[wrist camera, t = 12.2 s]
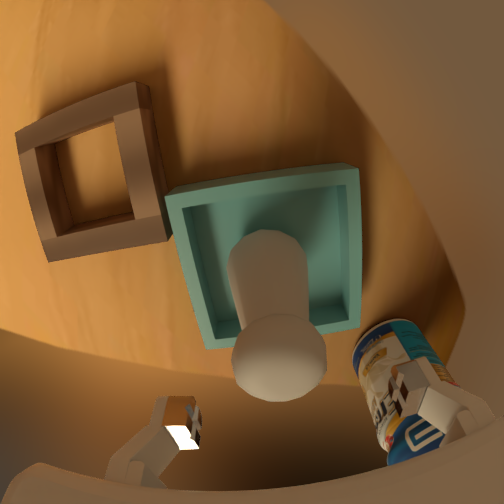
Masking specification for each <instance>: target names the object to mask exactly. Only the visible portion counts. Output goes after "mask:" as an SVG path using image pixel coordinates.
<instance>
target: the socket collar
mask: <svg viewBox="0 0 504 504" xmlns="http://www.w3.org/2000/svg"><path fill="white" fill-rule="evenodd" d="M111 122H114V123H115V129H116V135H117V140H118V145H119V150H120V155H121V160H122V165H123V170H124V174H125V179H126V183H127V187H128V192H129V196H130V200H131V204H132V208H133V212H130V213H125V214H120V215H116V216H111V217H107V218H102V219H98V220H94V221H90V222H85V223H81V224H77V225H74V223H73V220H72V216H71V213H70V209H69V206H68V202H67V198H66V194H65V190H64V186H63V182H62V178H61V173H60V169H59V164H58V159H57V155H56V149H55V143H58V142H60V141H62V140H65V139H67V138H70V137H72V136H75V135H78V134H80V133H83V132H86V131H88V130H91V129H94V128H97V127H100V126H102V125H105V124H108V123H111ZM15 137H16V143H17V149H18V155H19V160H20V165H21V170H22V175H23V179H24V183H25V188H26V192H27V196H28V200H29V203H30V207H31V211H32V214H33V218H34V221H35V224H36V228H37V231H38V234H39V237H40V240H41V243H42V246H43V249H44V252H45V255H46V257H47V260H48V262H53V261H59V260H64V259H69V258H75V257H80V256H86V255H91V254H97V253H102V252H108V251H113V250H119V249H125V248H131V247H137V246H142V245H148V244H154V243H160V242H166V241H168V240H169V239H170V237H171V236H172V234H173V231H172V227H171V223H170V219H169V214H168V210H167V206H166V201H165V197H164V196H166V195H167V194H168V193H169V192H168V188H167V183H166V178H165V173H164V168H163V164H162V158H161V153H160V148H159V143H158V138H157V132H156V127H155V121H154V115H153V109H152V103H151V97H150V90H149V86H147V85H144V84H141V83H139V82H136V81H134V82H131V83H128V84H125V85H122V86H119V87H116V88H113V89H110V90H108V91H105V92H102V93H100V94H97V95H94V96H92V97H89V98H87V99H84V100H82V101H79V102H77V103H75V104H72V105H70V106H68V107H65V108H63V109H61V110H59V111H57V112H54V113H52V114H50V115H48V116H46V117H44V118H42V119H40V120H38V121H36V122H34V123H32V124H30V125H28V126H26V127H24V128H23V129H21V130H19V131H17V132H15Z"/></svg>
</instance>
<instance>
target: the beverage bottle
mask: <svg viewBox="0 0 504 504" xmlns="http://www.w3.org/2000/svg"><path fill="white" fill-rule="evenodd" d="M421 357H426V358H427V359H428V361H429V363H430V364H431V366H432V367H433V369H434V370H435V372H436V374H437V375H438V377H439V378H440V380H441V382H442V381H446V382H448V383H450V384H452V385H454V386H456V387H458V388H460V386H459V385H458V384H456V383H455V381H454V380H453V378H452V377H451V375H450V374H449V372H448V371H447V369H446V368H445V366H444V365H443V363H442V362H441V360H440V359H439V357H438V356H437V355H436V353H435V352H434V350H433V349H432V347H431V346H430V344H429V343H428V342H427V340H426V339H425V337H424V336H423V334H422V333H421V331H420V330H419V328H418V327H417V326H416V325H415V324H414V323H413V322H411V321H409V320H406V319H391V320H387V321H384V322H382V323H380V324H378V325H376V326H374V327H373V328H371V329H370V330H369V331H368V332H366V333H365V334H364V335H363V336H362V337H361V339H360V340H359V341H358V343H357V345H356V346H355V349H354V351H353V356H352V363H353V367H354V369H355V372H356V374H357V376H358V379H359V381H360V384H361V387H362V389H363V392H364V395H365V398H366V401H367V403H368V406H369V409H370V412H371V415H372V418H373V421H374V424H375V427H376V433H377V438H378V441H379V443H380V445H381V447H382V448H383V449H385V450H386V451H387V452H388V457H387V463H388V466H390V465H393V464H397V463H400V462H403V461H406V460H409V459H411V458H414V457H417V456H420V455H422V454H425V453H427V452H430V451H433V450H435V449H437V448H440V447H439V445H440V443H441V441H442V440H443V438H444V436H445V435H446V434H444V433H443V432H442V431H440V430H439V429H437V428H436V427H435V426H433V425H432V424H430V423H429V422H428V421H426V420H425V419H424V418H422V417H421V416H419V415H418V413H416V414H413V415H410V416H406V417H403V418H399V415H398V413H397V411H396V408H395V405H396V402H395V401H394V400H392V399H391V397H390V394H389V390H388V382H389V378H390V377H391V376H392V374H391V368H392V366H393V365H397V364H400V363H403V362H407V361H410V360H414V359H417V358H421ZM460 389H461V388H460Z"/></svg>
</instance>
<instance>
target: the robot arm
mask: <svg viewBox="0 0 504 504" xmlns="http://www.w3.org/2000/svg"><path fill="white" fill-rule="evenodd" d="M391 374H392V376H391V377H390V378H389V382H388V390H389V394H390V397H391V399H392V400H394V401H395V402H396V405H395V408H396V411H397V413H398V415H399V418H403V417H406V416H410V415H413V414H416V413H418V415H419V416H421V417H422V418H424V419H425V420H426V421H428V422H429V423H430V424H432V425H433V426H435V427H436V428H437V429H439V430H440V431H442V432H443V433H444V434H446V435H445V436H444V438H443V440H442V441H441V443H440V445H439V447H440V448H437V449H435V450H433V451H430V452H427V453H425V454H422V455H420V456H417V457H414V458H411V459H409V460H406V461H403V462H400V463H397V464H393V465H390V466H387V467H384V468H380V469H377V470H373V471H370V472H366V473H362V474H358V475H354V476H349V477H345V478H340V479H336V480H331V481H325V482H320V483H314V484H309V485H302V486H294V487H286V488H276V489H266V490H252V491H186V490H171V489H167V487H166V486H165V485H164V484H163V483H162V482H161V481H160V480H159V479H158V476H159V475H160V474H161V473H162V472H163V470H164V469H165V468H166V467H167V466H168V464H169V463H170V462H171V461H172V459H173V458H174V457H175V456H176V454H177V453H178V452H179V451H180V449H199V445H200V434H199V432H198V431H199V430H200V429H201V428H202V415H201V411H200V409H199V407H197V406H196V400H195V398H194V397H193V396H158V397H157V399H156V402H155V405H154V409H153V413H152V416H151V420H150V424H149V426H145V427H144V428H143V429H142V430H141V431H140V432H138V433H137V434H136V435H135V436H134V437H133V438H132V439H131V440H130V441H128V442H127V443H126V444H125V445H124V446H123V447H122V448H120V449H119V450H118V451H117V452H116V453H115V454H114V455H112V456H111V459H110V462H109V465H108V468H107V472H106V475H105V479H104V480H103V479H98V478H94V477H89V476H85V475H81V474H77V473H73V472H70V471H67V470H63V469H60V468H56V467H53V466H50V465H47V464H43V463H36V464H34V465H32V466H31V467H29V468H27V469H26V470H24V471H23V472H21V473H20V474H18V475H17V476H16V477H15V478H14V479H13V480H12V482H11V483H10V485H9V487H8V489H7V491H6V493H5V495H4V498H3V500H2V502H1V504H504V416H502V417H501V418H498V419H497V420H496V419H495V417H494V415H493V414H492V412H491V411H490V409H489V407H488V406H487V404H486V402H485V401H484V400H483V399H481V398H479V397H476V396H474V395H472V394H470V393H468V392H466V391H464V390H462V389H460V388H458V387H456V386H454V385H452V384H450V383H448V382H446V381H442V382H441V380H440V378H439V377H438V375H437V374H436V372H435V370H434V369H433V367H432V366H431V364H430V363H429V361H428V359H427V358H426V357H421V358H417V359H414V360H410V361H407V362H403V363H400V364H397V365H393V366H392V368H391Z"/></svg>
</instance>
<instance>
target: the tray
mask: <svg viewBox="0 0 504 504" xmlns="http://www.w3.org/2000/svg"><path fill="white" fill-rule="evenodd" d="M164 197H165V201H166V206H167V210H168V214H169V219H170V223H171V227H172V231H173V235H174V239H175V243H176V247H177V251H178V255H179V259H180V262H181V266H182V270H183V274H184V277H185V281H186V284H187V288H188V292H189V295H190V299H191V302H192V305H193V309H194V312H195V316H196V319H197V322H198V325H199V329H200V332H201V335H202V338H203V342H204V345H205V348H206V350H207V349H218V348H228V347H234V345H235V342H236V339H237V336H238V334H239V333H240V332H241V331H242V329H241V325H240V322H239V318H238V314H237V310H236V307H235V303H234V299H233V295H232V291H231V287H230V283H229V279H228V274H227V269H226V266H227V262H228V258H229V254H230V251H231V249H232V248H233V247H234V246H235V245H236V244H237V243H238V242H239V241H240V240H241V239H242V238H243V237H244V236H246V235H248V234H251V233H253V232H255V231H258V230H260V229H265V230H279V231H281V232H283V233H285V234H287V235H289V236H291V237H293V238H295V239H296V240H297V242H298V243H299V245H300V246H301V248H302V249H303V251H304V252H305V254H306V257H307V265H308V284H309V321H310V322H311V323H312V324H313V325H314V327H315V328H316V329H317V331H318V332H319V333H320V335H322V334H328V333H334V332H339V331H344V330H349V329H354V328H359V327H360V317H361V293H362V219H361V196H360V179H359V168H356V167H354V166H351V165H349V164H346V163H344V162H341V163H331V164H321V165H312V166H303V167H295V168H287V169H279V170H272V171H264V172H258V173H251V174H244V175H238V176H232V177H226V178H220V179H214V180H208V181H203V182H197V183H192V184H186V185H181V186H176V187H175V188H174V189H173V190H171V191H170V192H169V193H168V194H167V195H166V196H164Z"/></svg>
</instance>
